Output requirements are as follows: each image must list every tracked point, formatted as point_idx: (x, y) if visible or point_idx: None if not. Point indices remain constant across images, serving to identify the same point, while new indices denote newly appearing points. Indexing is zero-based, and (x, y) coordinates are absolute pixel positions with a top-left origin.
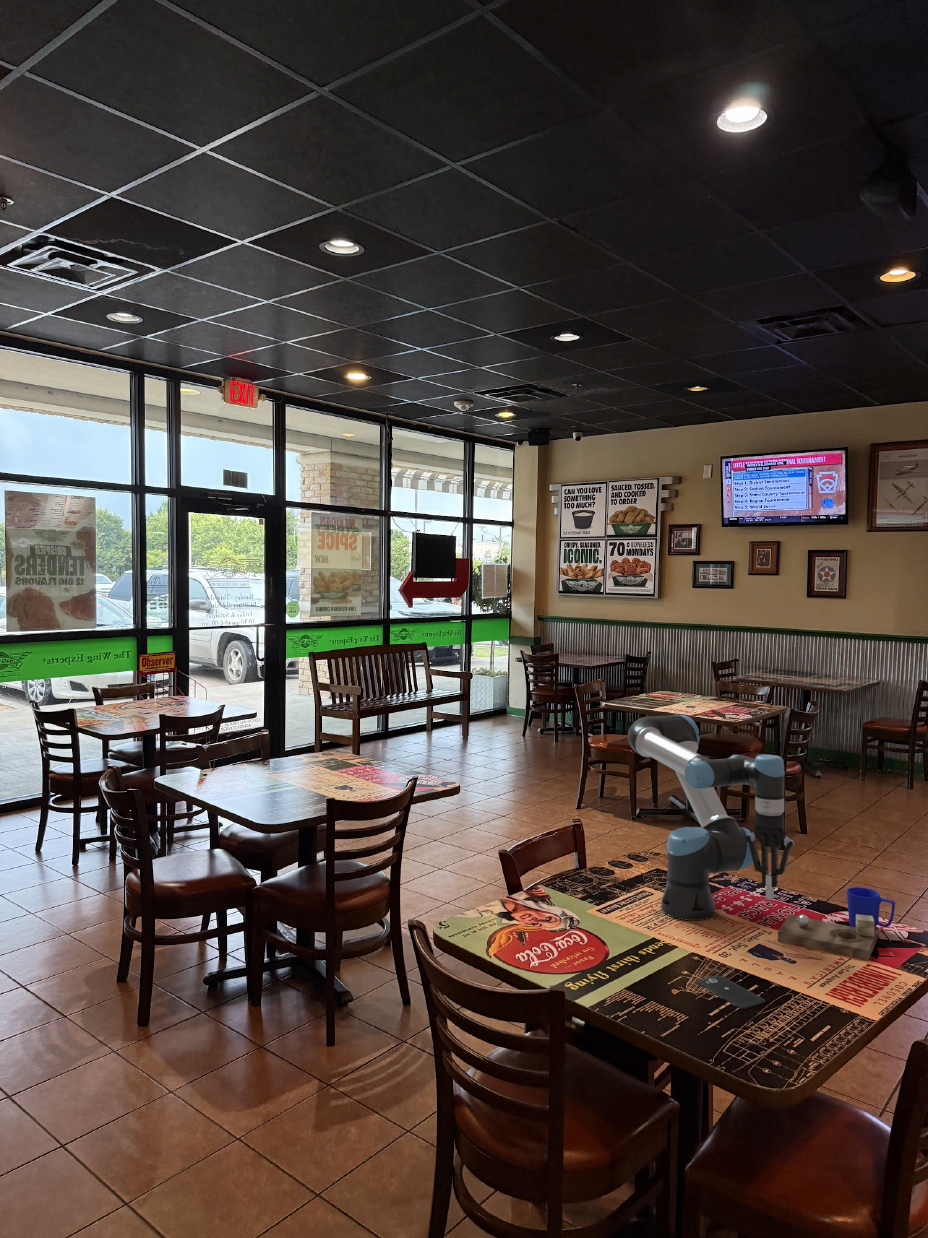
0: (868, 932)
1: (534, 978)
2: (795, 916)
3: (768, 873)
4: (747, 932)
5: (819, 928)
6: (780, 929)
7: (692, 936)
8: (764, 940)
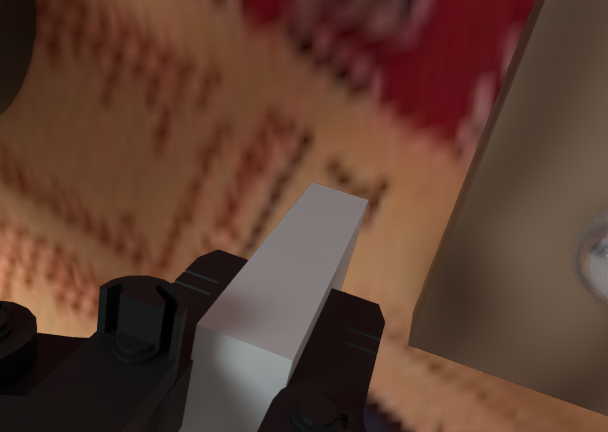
0: None
1: None
2: (601, 13)
3: (204, 370)
4: (249, 221)
5: None
6: (429, 311)
7: None
8: None
